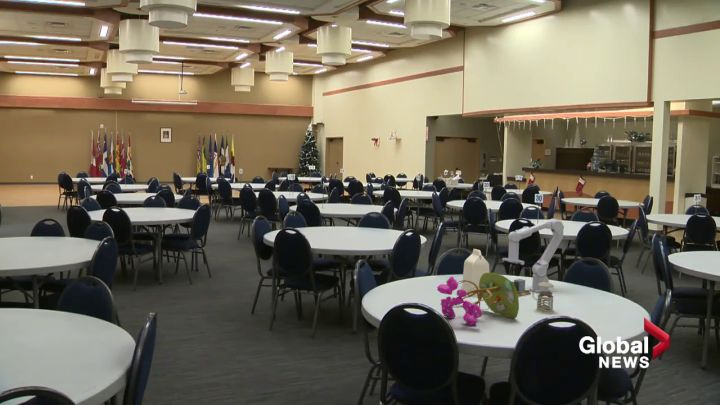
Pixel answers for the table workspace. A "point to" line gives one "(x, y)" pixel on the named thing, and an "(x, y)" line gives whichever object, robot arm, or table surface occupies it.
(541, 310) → the french press
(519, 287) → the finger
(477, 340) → the table surface
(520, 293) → the rail
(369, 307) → the table surface
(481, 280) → the magenta flower sprig
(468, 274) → the milk
